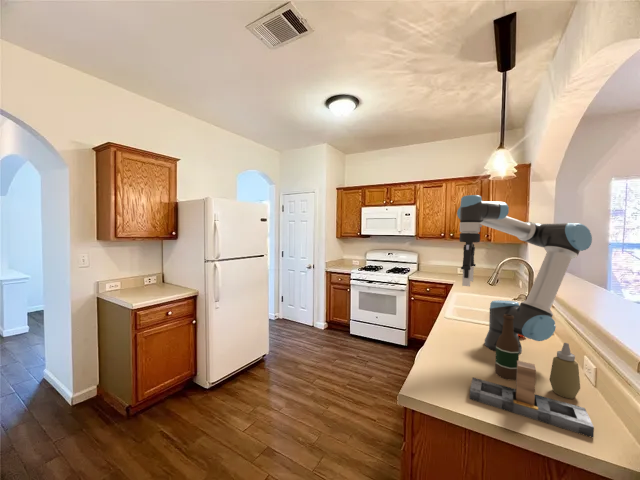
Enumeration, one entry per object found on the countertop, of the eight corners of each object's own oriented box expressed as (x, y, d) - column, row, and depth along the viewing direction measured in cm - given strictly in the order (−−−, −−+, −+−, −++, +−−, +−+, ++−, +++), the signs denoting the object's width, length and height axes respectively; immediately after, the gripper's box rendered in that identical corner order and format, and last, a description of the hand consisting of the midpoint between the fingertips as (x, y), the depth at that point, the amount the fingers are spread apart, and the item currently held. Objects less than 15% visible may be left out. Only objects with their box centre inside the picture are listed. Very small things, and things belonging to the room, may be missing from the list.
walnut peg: (515, 401, 91) (517, 360, 90) (532, 406, 88) (534, 364, 88) (516, 408, 87) (517, 365, 86) (533, 414, 84) (535, 370, 84)
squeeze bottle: (542, 387, 99) (545, 338, 99) (563, 387, 100) (565, 338, 99) (564, 401, 91) (567, 348, 91) (586, 400, 92) (589, 348, 91)
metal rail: (469, 398, 92) (469, 389, 91) (472, 385, 100) (472, 376, 100) (593, 437, 75) (594, 426, 75) (584, 417, 83) (584, 407, 83)
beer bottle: (511, 382, 102) (513, 319, 101) (490, 372, 109) (492, 313, 108) (522, 377, 106) (525, 316, 105) (501, 368, 113) (503, 311, 112)
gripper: (477, 232, 101) (475, 289, 102) (482, 233, 122) (480, 280, 123) (455, 232, 105) (453, 286, 106) (463, 232, 126) (461, 278, 127)
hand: (467, 283), depth 114 cm, fingers open, 13 cm apart
